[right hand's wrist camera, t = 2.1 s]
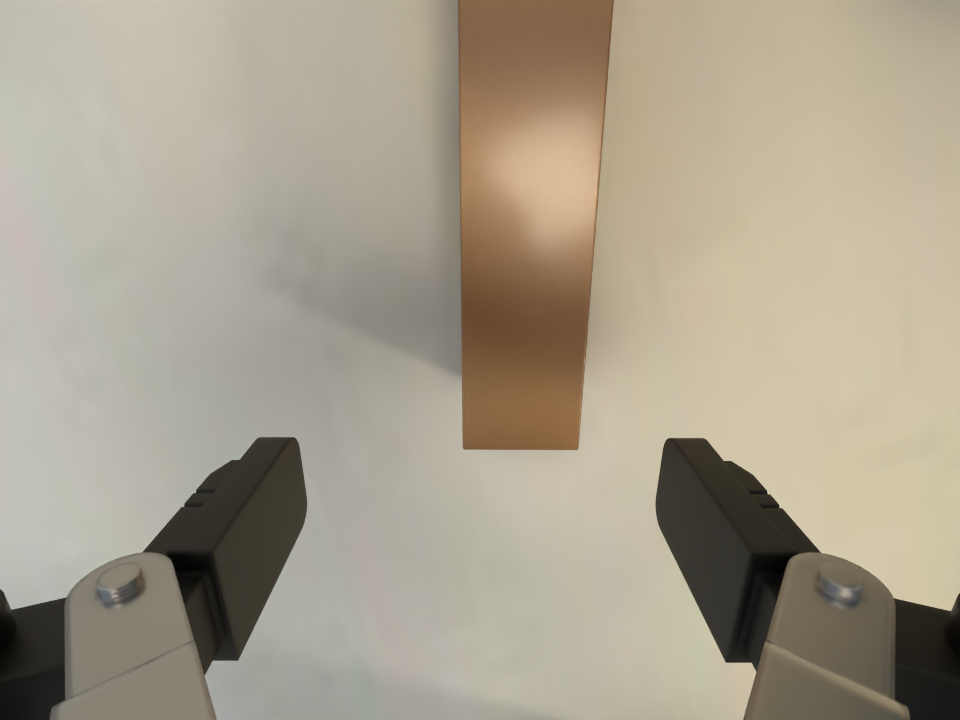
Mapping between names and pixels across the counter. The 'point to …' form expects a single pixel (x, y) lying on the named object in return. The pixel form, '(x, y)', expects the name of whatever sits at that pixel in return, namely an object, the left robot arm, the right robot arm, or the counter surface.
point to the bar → (528, 213)
